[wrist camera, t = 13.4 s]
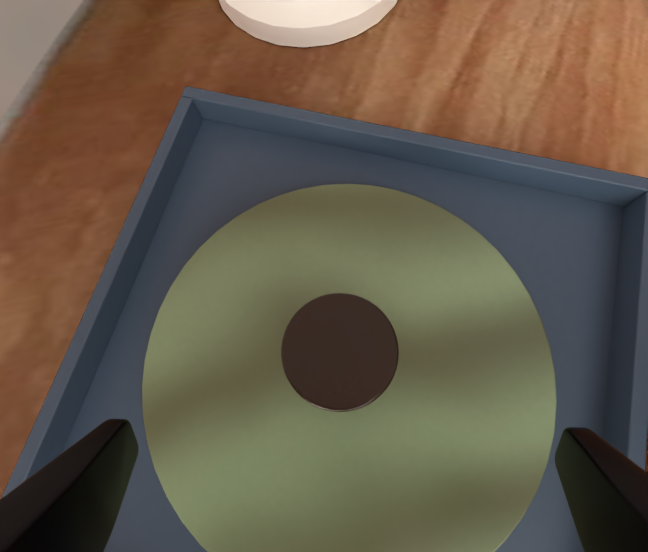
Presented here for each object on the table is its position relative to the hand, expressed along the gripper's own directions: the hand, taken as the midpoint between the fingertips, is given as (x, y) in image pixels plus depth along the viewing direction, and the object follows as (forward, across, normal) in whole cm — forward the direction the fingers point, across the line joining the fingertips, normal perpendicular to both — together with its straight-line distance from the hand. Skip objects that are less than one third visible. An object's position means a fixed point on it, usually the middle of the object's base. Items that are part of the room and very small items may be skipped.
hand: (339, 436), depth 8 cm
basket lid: (+6, 0, +4) cm, 7 cm away
